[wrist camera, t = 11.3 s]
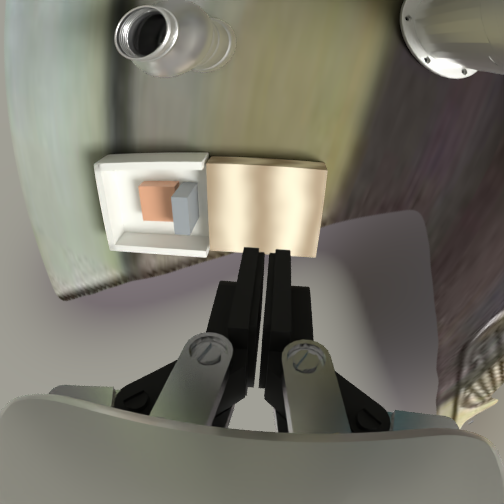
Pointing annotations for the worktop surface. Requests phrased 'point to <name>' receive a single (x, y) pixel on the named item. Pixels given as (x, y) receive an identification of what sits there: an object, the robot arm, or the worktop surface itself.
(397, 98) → the worktop surface
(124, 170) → the box
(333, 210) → the worktop surface
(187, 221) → the slate tile
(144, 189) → the terracotta tile
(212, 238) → the plate
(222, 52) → the plastic bottle
